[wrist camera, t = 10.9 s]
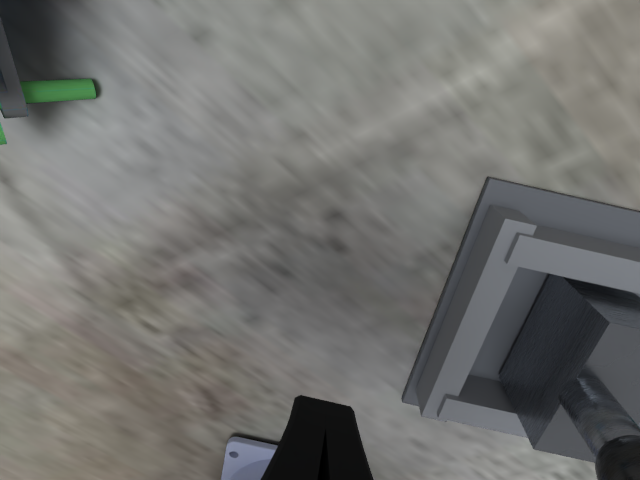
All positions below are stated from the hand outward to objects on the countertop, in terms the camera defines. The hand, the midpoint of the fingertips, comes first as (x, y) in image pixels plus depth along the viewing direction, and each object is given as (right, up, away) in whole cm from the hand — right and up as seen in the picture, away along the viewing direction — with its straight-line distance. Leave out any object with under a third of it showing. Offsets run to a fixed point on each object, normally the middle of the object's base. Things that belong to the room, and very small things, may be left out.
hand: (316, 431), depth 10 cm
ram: (+11, 0, +9) cm, 14 cm away
